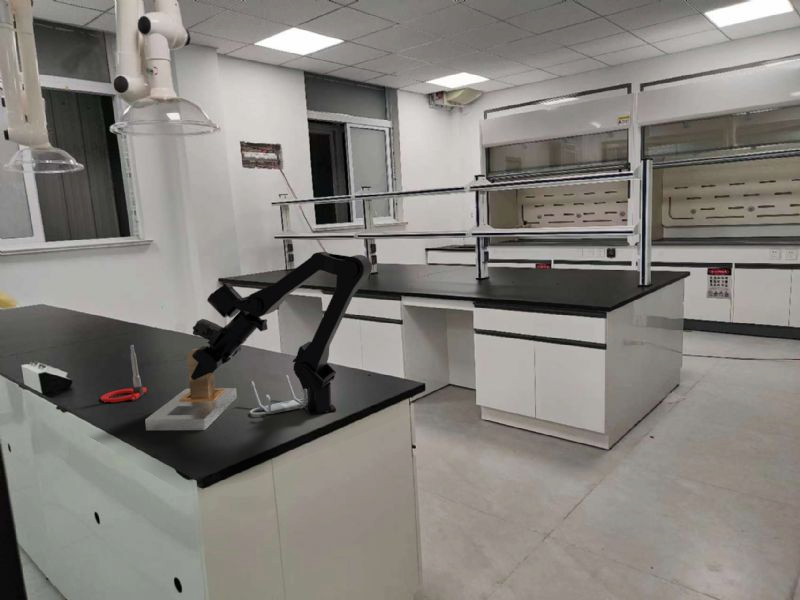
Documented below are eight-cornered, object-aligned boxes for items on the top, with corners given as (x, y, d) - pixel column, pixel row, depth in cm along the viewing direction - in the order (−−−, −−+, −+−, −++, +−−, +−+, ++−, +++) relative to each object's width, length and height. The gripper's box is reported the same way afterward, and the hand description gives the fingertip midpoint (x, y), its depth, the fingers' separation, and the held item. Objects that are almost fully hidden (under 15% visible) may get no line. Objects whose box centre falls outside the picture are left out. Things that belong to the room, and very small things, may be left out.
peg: (209, 404, 134) (205, 352, 132) (191, 404, 134) (187, 352, 133) (215, 398, 139) (211, 348, 137) (198, 398, 139) (194, 348, 137)
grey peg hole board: (204, 430, 120) (203, 417, 120) (146, 430, 121) (145, 418, 120) (236, 397, 142) (236, 386, 142) (186, 397, 142) (186, 387, 142)
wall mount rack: (256, 421, 125) (254, 396, 124) (239, 405, 136) (238, 382, 135) (320, 407, 133) (319, 384, 132) (299, 394, 144) (298, 372, 143)
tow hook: (95, 405, 139) (135, 402, 140) (87, 352, 137) (128, 348, 138) (110, 394, 148) (148, 391, 149) (103, 344, 146) (142, 341, 147)
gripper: (225, 302, 142) (186, 345, 144) (197, 315, 124) (153, 363, 126) (257, 331, 143) (218, 373, 145) (234, 348, 125) (190, 396, 127)
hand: (196, 375), depth 136 cm, fingers closed on peg, 4 cm apart
